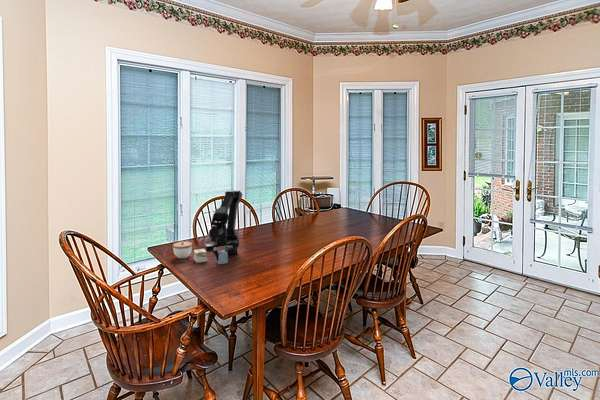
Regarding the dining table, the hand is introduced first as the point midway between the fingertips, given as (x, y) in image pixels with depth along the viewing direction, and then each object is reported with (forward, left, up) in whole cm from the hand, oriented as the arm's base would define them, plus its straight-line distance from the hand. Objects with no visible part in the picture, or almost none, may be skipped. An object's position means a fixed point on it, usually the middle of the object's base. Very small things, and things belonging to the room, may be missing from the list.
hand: (221, 260), depth 205 cm
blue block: (0, 0, -1) cm, 1 cm away
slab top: (+10, -9, +2) cm, 13 cm away
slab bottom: (+10, -9, -1) cm, 13 cm away
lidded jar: (+17, -20, -1) cm, 26 cm away
